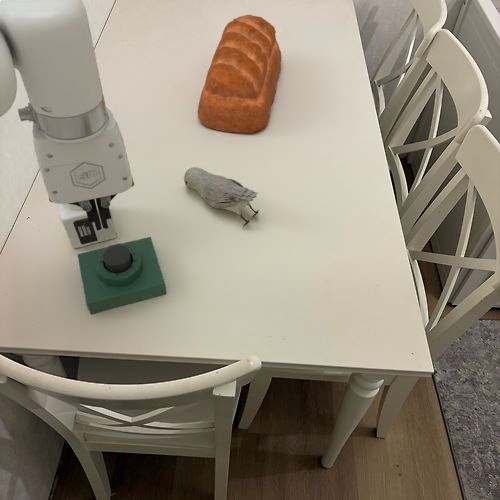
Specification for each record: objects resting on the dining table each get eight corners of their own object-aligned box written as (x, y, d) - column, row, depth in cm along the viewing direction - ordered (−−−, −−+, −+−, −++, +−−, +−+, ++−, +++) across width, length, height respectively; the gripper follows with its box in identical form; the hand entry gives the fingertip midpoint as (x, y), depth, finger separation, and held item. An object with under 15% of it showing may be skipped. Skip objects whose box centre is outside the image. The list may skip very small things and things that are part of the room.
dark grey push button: (107, 276, 74) (105, 268, 72) (103, 256, 76) (101, 248, 75) (134, 269, 75) (132, 261, 73) (128, 250, 77) (126, 242, 76)
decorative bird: (195, 178, 94) (193, 148, 88) (263, 216, 89) (266, 187, 83) (177, 194, 92) (174, 164, 86) (246, 234, 86) (248, 205, 80)
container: (117, 238, 84) (103, 184, 74) (72, 250, 82) (51, 196, 72) (108, 207, 89) (93, 152, 78) (65, 218, 87) (44, 163, 77)
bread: (283, 59, 122) (289, 7, 112) (264, 138, 103) (269, 83, 92) (222, 51, 123) (222, -2, 113) (193, 128, 104) (189, 72, 93)
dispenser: (90, 314, 75) (83, 297, 71) (81, 264, 81) (74, 246, 77) (166, 294, 78) (163, 276, 74) (152, 247, 84) (149, 228, 80)
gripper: (-1, 144, 49) (47, 255, 63) (146, 120, 53) (160, 230, 67) (-4, 102, 53) (42, 214, 68) (132, 82, 57) (148, 193, 72)
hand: (101, 222), depth 67 cm, fingers closed
